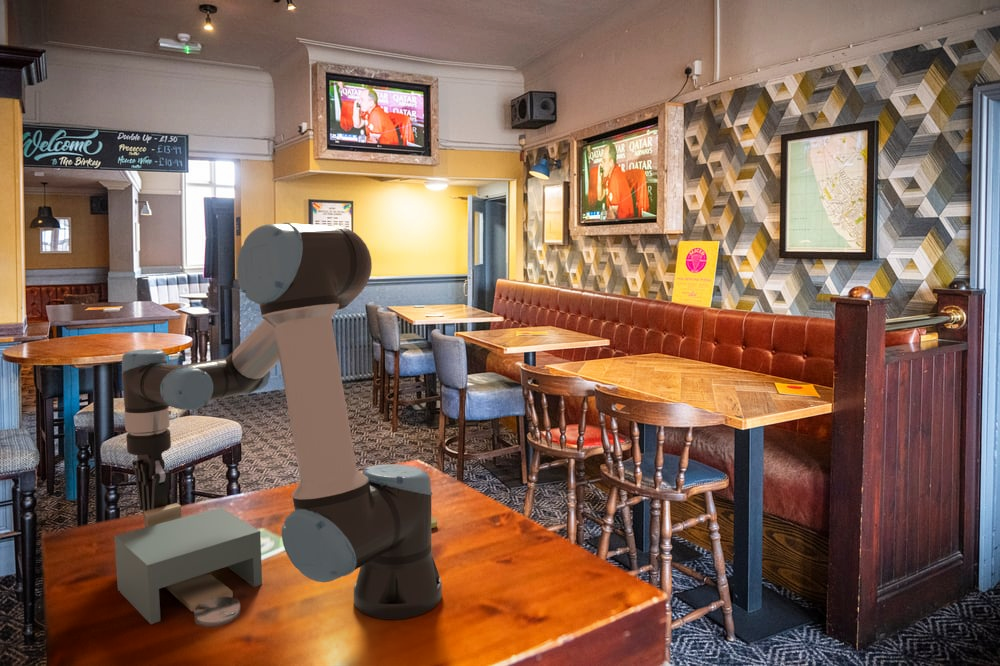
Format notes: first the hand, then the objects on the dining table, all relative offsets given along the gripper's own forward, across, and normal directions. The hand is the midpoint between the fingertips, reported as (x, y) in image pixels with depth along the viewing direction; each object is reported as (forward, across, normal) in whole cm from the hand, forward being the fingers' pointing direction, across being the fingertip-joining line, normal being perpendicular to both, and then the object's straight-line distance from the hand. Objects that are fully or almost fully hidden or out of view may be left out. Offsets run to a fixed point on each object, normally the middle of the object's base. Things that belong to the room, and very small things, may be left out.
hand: (155, 548), depth 136 cm
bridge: (+2, -17, 0) cm, 17 cm away
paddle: (+2, -15, 0) cm, 15 cm away
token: (+2, -30, +1) cm, 30 cm away
